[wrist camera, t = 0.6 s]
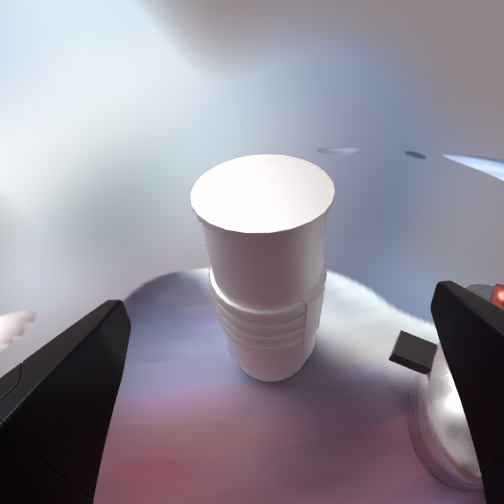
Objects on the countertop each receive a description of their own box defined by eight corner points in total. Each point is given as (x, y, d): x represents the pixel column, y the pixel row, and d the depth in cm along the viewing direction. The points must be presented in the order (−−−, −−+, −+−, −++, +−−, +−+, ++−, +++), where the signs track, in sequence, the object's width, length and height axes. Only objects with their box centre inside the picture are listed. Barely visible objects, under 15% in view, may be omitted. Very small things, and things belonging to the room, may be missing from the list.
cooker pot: (539, 505, 10) (578, 492, 6) (342, 446, 19) (357, 429, 15) (562, 353, 19) (588, 325, 16) (411, 290, 28) (426, 253, 25)
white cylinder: (278, 404, 22) (276, 260, 11) (211, 353, 25) (160, 197, 15) (331, 341, 25) (362, 180, 15) (266, 301, 29) (254, 144, 18)
